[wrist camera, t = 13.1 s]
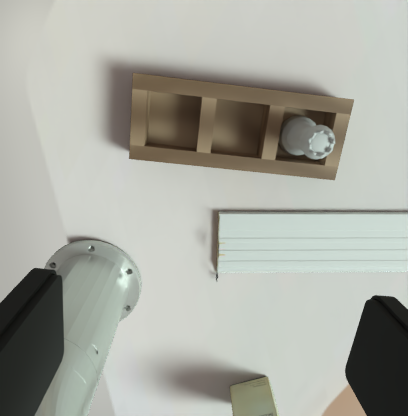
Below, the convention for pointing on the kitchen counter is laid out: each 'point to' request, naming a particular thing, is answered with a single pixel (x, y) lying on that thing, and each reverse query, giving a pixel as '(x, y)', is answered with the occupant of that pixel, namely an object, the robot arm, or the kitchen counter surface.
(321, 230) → the baseboard
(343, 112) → the rack
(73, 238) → the kitchen counter surface
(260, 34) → the kitchen counter surface
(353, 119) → the kitchen counter surface
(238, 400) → the skincare box
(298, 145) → the rook chess piece
